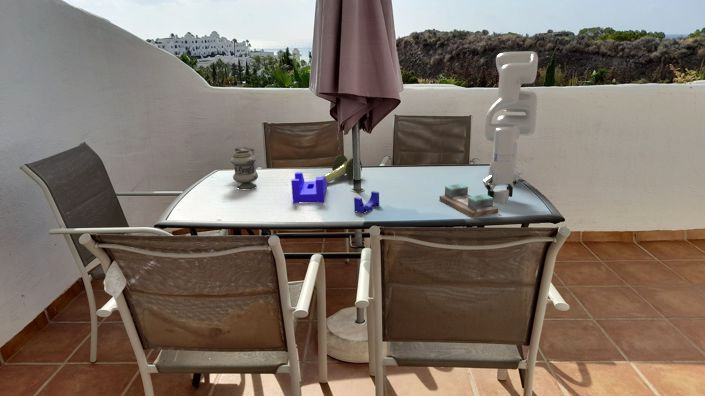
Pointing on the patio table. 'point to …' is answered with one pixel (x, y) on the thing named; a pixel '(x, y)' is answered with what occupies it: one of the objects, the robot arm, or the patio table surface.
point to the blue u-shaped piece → (369, 205)
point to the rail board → (466, 210)
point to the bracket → (308, 189)
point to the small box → (501, 195)
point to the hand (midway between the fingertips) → (499, 197)
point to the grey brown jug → (247, 149)
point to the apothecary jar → (244, 169)
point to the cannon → (340, 168)
